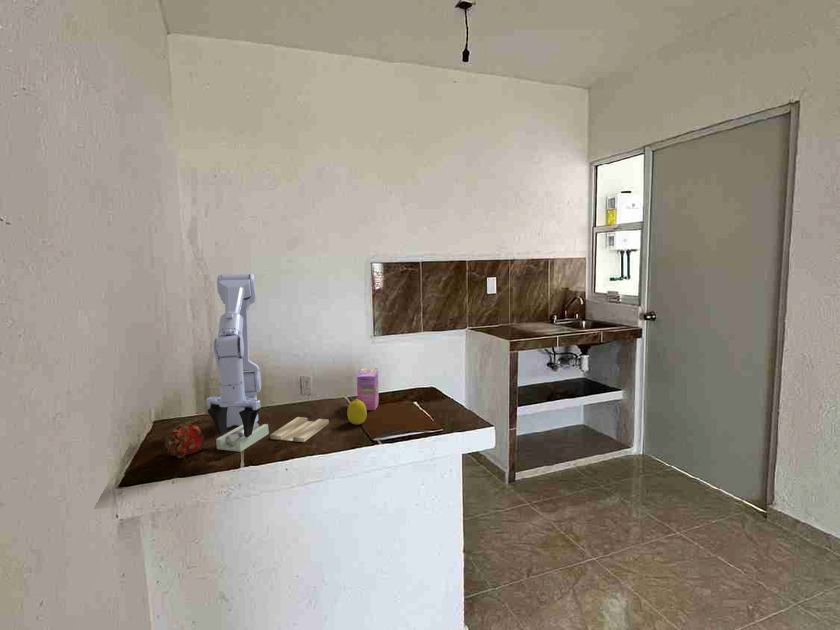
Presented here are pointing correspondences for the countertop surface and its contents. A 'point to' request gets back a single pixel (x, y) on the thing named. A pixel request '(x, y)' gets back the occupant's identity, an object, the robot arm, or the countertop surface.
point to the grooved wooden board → (299, 429)
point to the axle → (237, 435)
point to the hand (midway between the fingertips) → (235, 434)
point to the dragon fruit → (183, 440)
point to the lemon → (356, 412)
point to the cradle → (242, 439)
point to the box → (368, 387)
